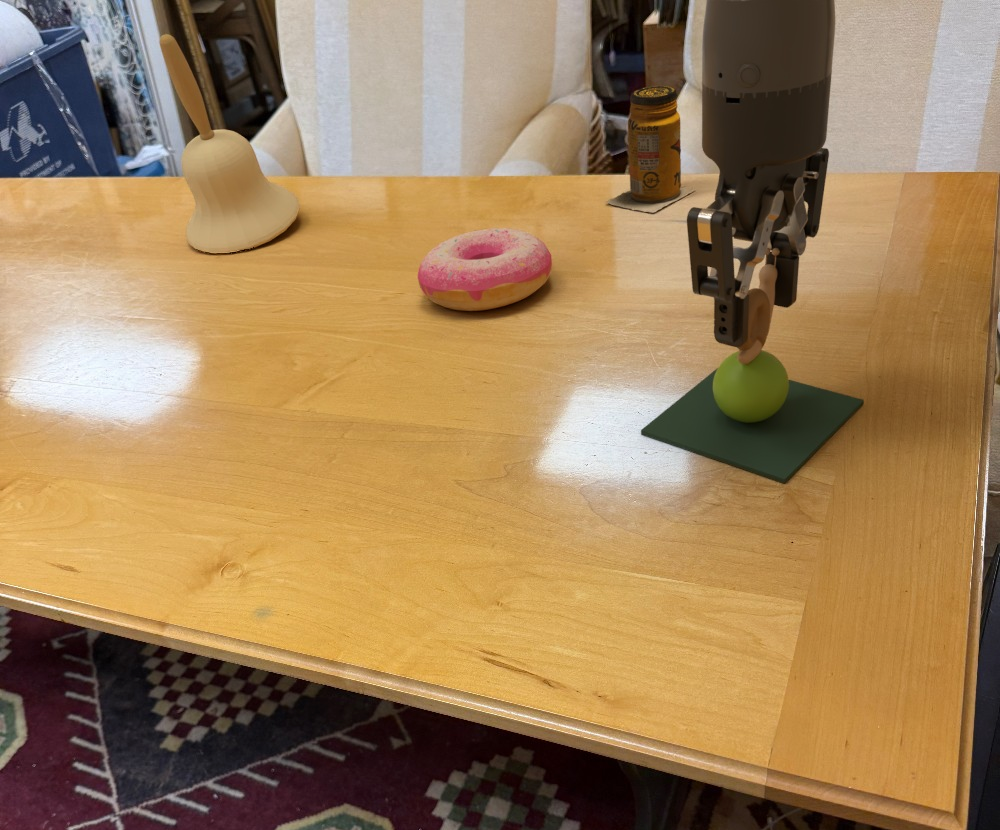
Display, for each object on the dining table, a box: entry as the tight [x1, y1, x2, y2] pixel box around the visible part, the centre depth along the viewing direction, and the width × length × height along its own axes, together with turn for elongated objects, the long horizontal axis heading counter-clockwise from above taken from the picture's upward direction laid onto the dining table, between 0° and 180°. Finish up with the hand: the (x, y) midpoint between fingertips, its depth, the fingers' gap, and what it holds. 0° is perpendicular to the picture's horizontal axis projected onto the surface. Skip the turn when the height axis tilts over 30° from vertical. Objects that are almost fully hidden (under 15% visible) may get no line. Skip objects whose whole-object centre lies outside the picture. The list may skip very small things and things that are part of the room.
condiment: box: [604, 85, 696, 214], centre depth 107 cm, size 7×8×12 cm
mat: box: [640, 367, 865, 484], centre depth 69 cm, size 12×12×1 cm
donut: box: [417, 227, 553, 312], centre depth 93 cm, size 14×13×5 cm
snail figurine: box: [713, 247, 790, 423], centre depth 66 cm, size 5×6×12 cm
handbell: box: [158, 33, 301, 252], centre depth 111 cm, size 15×15×25 cm
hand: (755, 322), depth 65 cm, fingers closed on snail figurine, 6 cm apart
